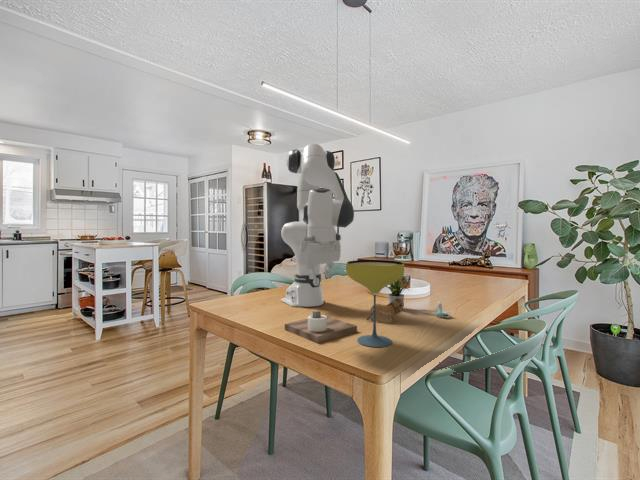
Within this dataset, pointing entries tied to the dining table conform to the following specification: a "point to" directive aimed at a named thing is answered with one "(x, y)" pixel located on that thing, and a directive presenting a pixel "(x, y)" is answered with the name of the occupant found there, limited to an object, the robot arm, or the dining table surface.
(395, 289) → the house plant
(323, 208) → the robot arm
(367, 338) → the cocktail glass
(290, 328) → the board
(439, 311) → the pacifier
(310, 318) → the white hollow tube
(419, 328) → the dining table surface
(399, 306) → the lion figurine
